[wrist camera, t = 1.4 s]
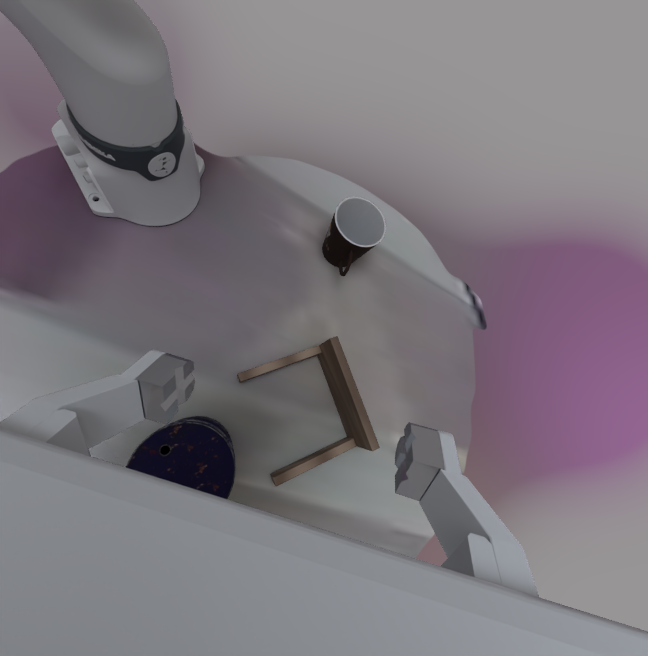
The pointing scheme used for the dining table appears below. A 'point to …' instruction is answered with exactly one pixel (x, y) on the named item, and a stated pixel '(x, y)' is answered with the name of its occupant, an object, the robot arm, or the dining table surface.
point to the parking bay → (344, 399)
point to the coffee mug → (353, 232)
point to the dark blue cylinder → (189, 455)
